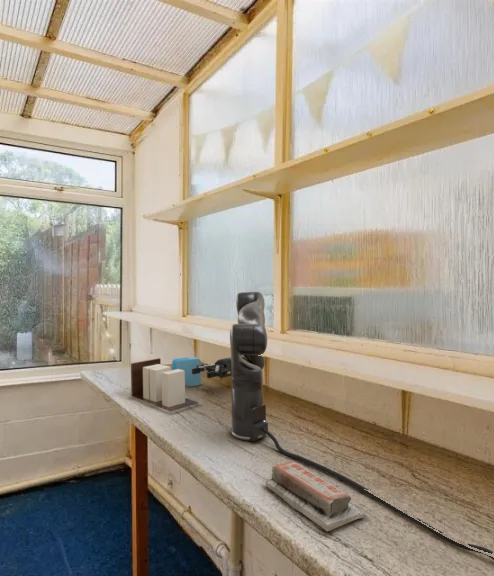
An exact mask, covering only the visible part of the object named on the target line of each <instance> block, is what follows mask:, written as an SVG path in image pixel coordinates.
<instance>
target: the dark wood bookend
mask: <svg viewBox="0 0 494 576" xmlns="http://www.w3.org/2000/svg"><path fill="white" fill-rule="evenodd" d="M161 360H162V359H161V358H160V357H159V358H151V359H146V360H141V361H136V362H131V363H130V390H131V391H130V392H131V395H130V396H131V397H133V398H135V399H138V400H140V401H143V402H145V403H148V404H151V405H153V406H155V407H158V408H160V409H163V410H165V411H168V412H174V411H179V410H181V409H184V408H188V407H191V406H194V405H197V404H200V402H199V401H196V400H193V399H190V398H187V397H185V403H182V404H179V405H175V406H172V407H166V406H164V405H162V401H159V402H154V401H151V400H148V399H145V398H143V367H146V366H151V365H156V364H161V365H162V363H161Z"/></svg>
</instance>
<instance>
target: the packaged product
mask: <svg viewBox="0 0 494 576" xmlns="http://www.w3.org/2000/svg"><path fill="white" fill-rule="evenodd" d="M271 473H272V474H271V478H269V479H266V482H265V487H267V488H268V489H269V490H270V491H272V492H273V493H275V494H276V495H277V496H278V497H280V498H281V499H282V500H283V501H284V502H286V504H288V505H289V506H290V507H291V508H293V509H294V510H296V511H298V512H299V513H300V514H302V515H304V516H305V517H307V518H308V519H309V520H310V521H312V522H313V523H315V524H316V525H318V526H319V527H320V528H322V529H323V530H324V531H326V532H330V531H332V530H335V529H337V528H339V527H342V526H344V525H347V524H349V523H351V522H353V521H355V520H356V521H357V520H358V519H362V518H364V515H365V511H364V510H362V509H359V508H357V506H355V505H353V504H352V503H350V501H351V500H352V497H351V496H350V495H349V494H347V493H346V492H344V491H343V490H342V489H340V488H339V487H336V486H335V485H333V484H331V483H330V482H329V481H326V480H325V479H323V478H321V476H319V475H317V474H315V473H313V472H312V471H310V470H308V469H307V468H305V467H304V466H302V465H301V464H299V463H297V462H296V461H295V462H294V461H286V462H283V463H280V464H276V465H273V466H272V470H271Z"/></svg>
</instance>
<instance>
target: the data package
mask: <svg viewBox="0 0 494 576" xmlns="http://www.w3.org/2000/svg"><path fill="white" fill-rule="evenodd" d="M197 365H202V363H201V359H200V358H198V357H195V356H189V357H179V358H174V359H172V361H171V370H176V369H180V370H184V371H185V386H187V387H190V388H191V387H198V386H200V385H201V383H202V373H198V374H192V369H193V368H196V366H197Z"/></svg>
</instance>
